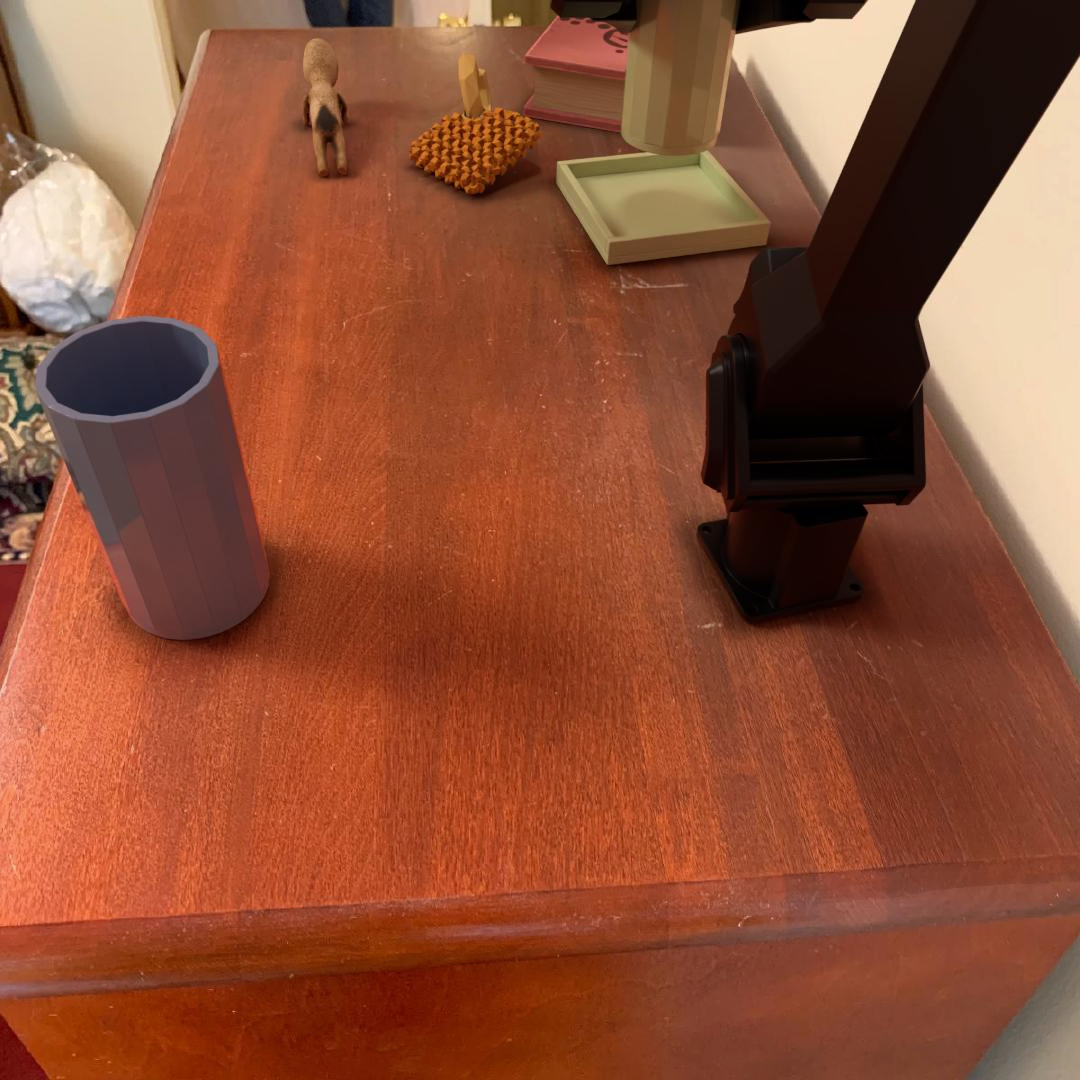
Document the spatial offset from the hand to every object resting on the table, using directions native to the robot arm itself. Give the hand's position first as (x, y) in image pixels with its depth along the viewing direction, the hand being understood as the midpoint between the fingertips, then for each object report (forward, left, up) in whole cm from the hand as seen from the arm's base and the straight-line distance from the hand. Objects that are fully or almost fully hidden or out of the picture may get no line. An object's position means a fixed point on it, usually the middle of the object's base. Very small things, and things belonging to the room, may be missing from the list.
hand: (677, 27), depth 67 cm
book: (+19, -5, -13) cm, 24 cm away
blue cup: (-30, +35, -13) cm, 48 cm away
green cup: (-1, 0, -7) cm, 7 cm away
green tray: (-1, 0, -13) cm, 13 cm away
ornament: (+11, +11, -13) cm, 20 cm away
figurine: (+17, +22, -13) cm, 31 cm away
